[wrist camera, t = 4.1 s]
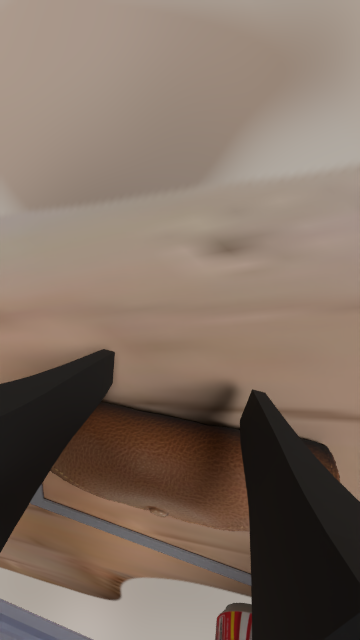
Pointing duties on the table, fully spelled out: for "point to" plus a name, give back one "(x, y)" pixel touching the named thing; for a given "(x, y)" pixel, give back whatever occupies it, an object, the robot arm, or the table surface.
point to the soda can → (235, 622)
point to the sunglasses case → (165, 466)
